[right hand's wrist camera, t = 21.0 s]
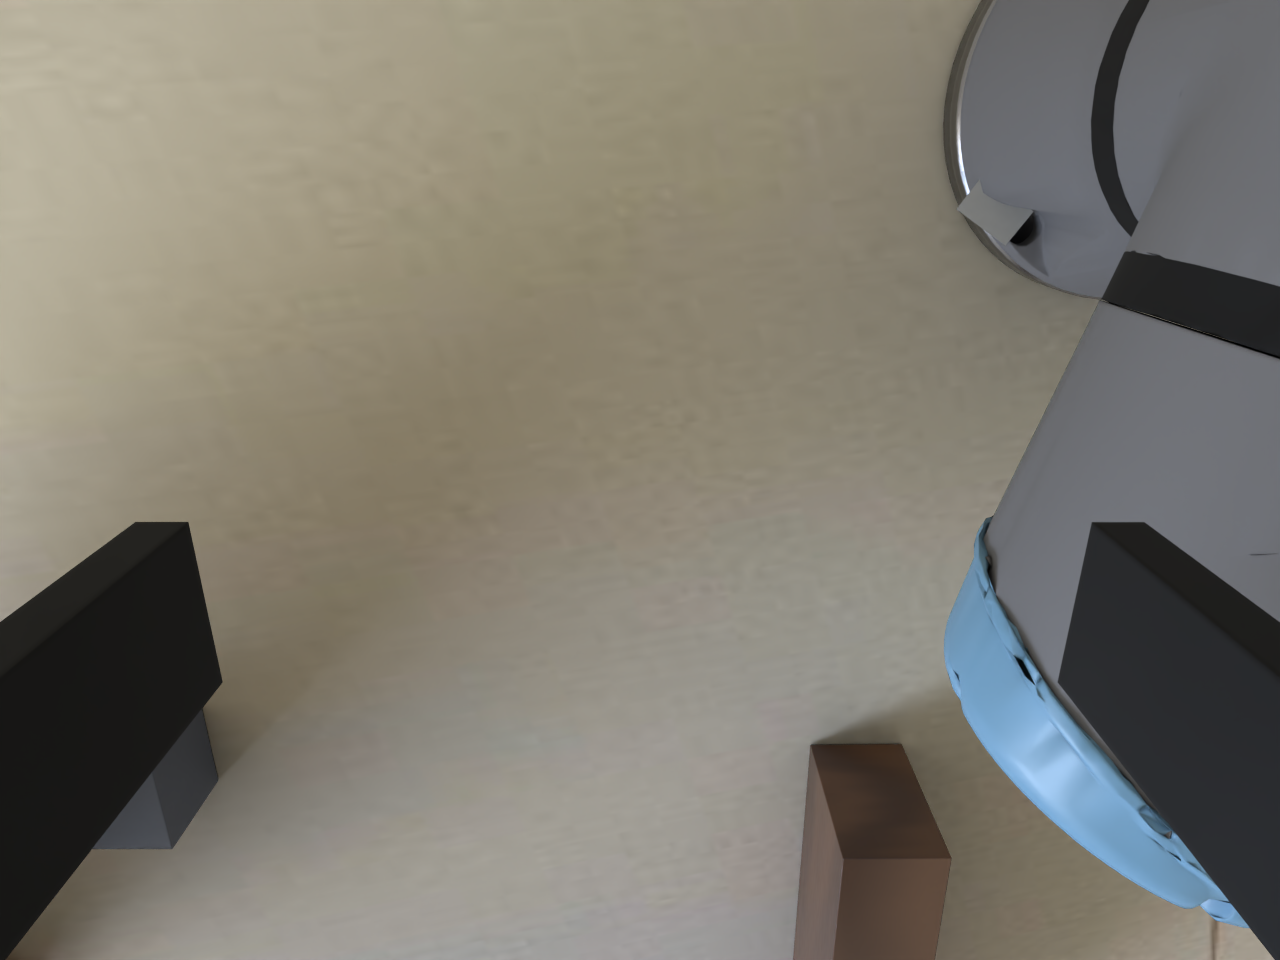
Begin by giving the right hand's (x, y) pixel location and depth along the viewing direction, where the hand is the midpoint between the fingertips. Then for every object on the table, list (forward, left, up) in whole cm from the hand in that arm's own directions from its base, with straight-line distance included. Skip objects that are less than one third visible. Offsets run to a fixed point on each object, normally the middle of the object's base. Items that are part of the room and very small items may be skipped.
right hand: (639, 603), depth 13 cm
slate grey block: (+26, +24, -27) cm, 44 cm away
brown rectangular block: (-12, +36, -27) cm, 46 cm away
